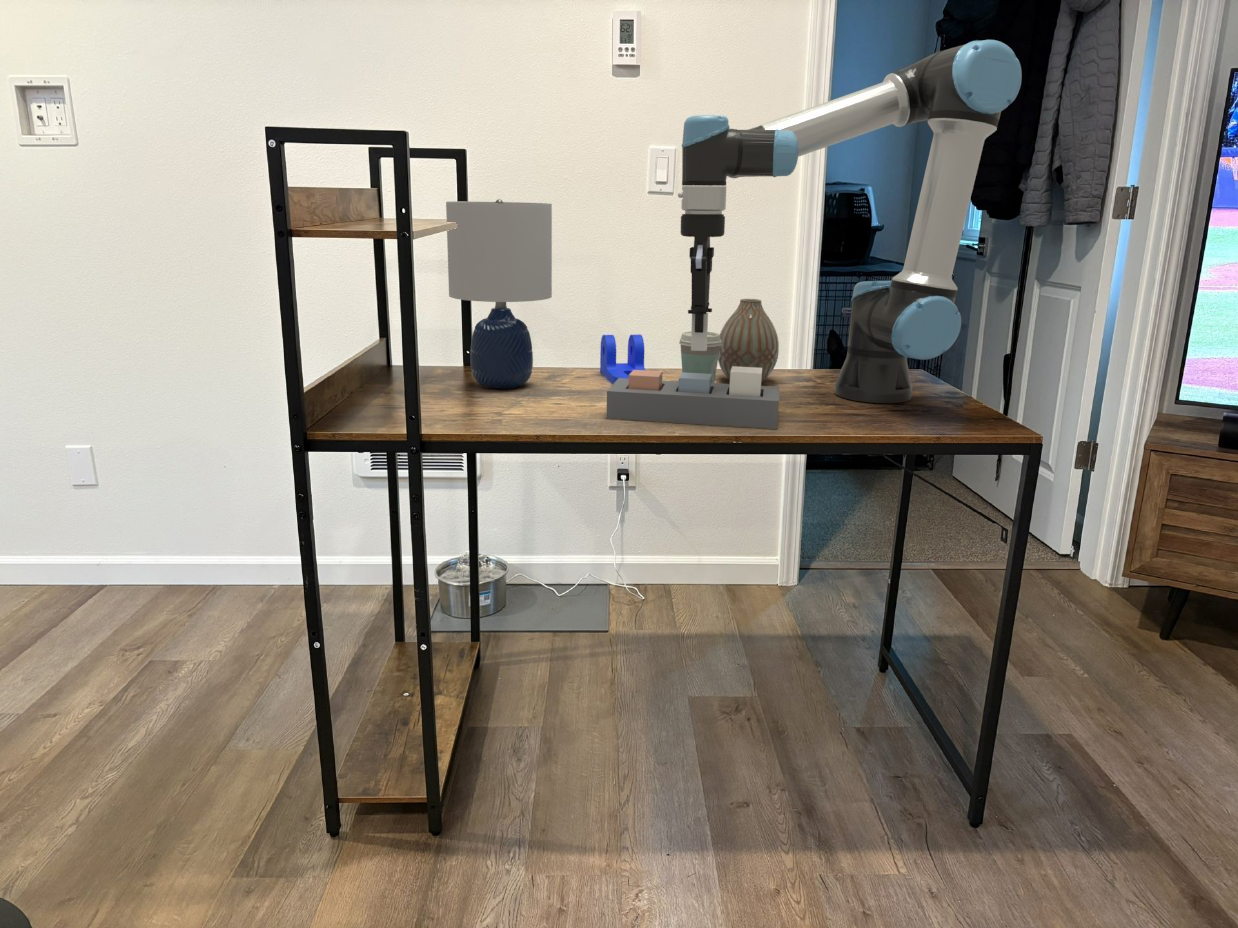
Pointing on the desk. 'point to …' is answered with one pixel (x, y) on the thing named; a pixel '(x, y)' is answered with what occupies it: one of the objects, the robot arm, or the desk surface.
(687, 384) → the slate key
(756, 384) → the white key
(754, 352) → the vase
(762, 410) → the grey socket block
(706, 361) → the coffee cup
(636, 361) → the bracket
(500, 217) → the lamp
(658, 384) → the terracotta key
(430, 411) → the desk surface
